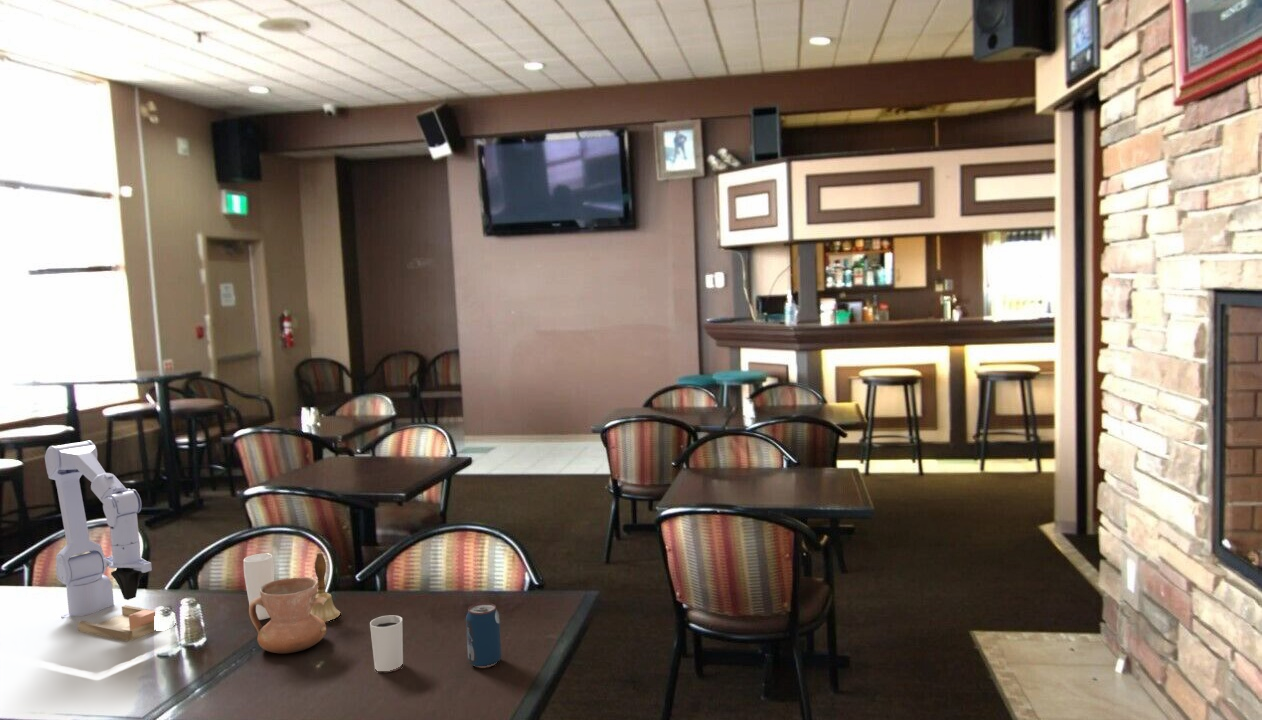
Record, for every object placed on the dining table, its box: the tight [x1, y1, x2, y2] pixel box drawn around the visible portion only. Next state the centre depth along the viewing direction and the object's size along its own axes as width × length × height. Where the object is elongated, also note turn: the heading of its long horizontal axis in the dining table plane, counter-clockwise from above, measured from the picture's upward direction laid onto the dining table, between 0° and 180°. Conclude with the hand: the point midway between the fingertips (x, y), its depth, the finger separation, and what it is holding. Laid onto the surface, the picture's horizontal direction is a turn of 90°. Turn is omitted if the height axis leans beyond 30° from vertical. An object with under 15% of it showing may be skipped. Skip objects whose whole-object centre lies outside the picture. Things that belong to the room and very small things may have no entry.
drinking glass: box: [243, 553, 275, 621], centre depth 217 cm, size 7×7×15 cm
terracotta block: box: [129, 609, 156, 630], centre depth 208 cm, size 4×4×4 cm
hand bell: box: [310, 552, 341, 623], centre depth 215 cm, size 8×8×16 cm
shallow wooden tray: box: [77, 604, 155, 642], centre depth 211 cm, size 12×18×3 cm, turn 65°
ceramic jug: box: [248, 576, 327, 654], centre depth 198 cm, size 18×14×14 cm
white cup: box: [369, 614, 404, 671], centre depth 185 cm, size 7×7×10 cm
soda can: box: [465, 602, 502, 666], centre depth 185 cm, size 7×7×12 cm
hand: (130, 598), depth 209 cm, fingers closed
